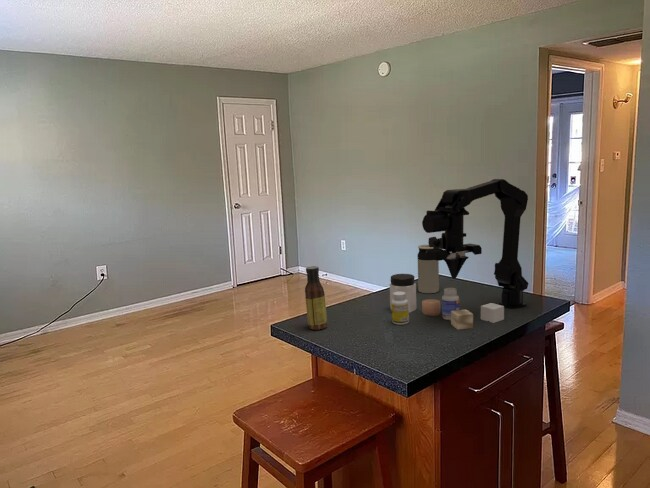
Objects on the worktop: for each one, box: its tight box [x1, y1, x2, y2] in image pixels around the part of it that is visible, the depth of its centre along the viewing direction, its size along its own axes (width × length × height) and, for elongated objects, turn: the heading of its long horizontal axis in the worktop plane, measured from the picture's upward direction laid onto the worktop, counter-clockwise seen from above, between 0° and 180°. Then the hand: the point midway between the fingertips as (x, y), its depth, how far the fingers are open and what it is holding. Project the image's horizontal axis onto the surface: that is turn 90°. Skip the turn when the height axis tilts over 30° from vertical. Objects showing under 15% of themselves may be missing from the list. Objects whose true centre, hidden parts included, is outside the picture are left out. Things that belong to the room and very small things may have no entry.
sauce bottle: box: [304, 265, 328, 331], centre depth 158 cm, size 6×6×20 cm
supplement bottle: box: [391, 292, 410, 326], centre depth 159 cm, size 5×5×10 cm
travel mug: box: [417, 244, 440, 295], centre depth 193 cm, size 8×8×18 cm
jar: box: [389, 273, 417, 314], centre depth 172 cm, size 9×8×12 cm
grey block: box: [480, 302, 505, 324], centre depth 158 cm, size 5×5×4 cm
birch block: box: [450, 309, 474, 330], centre depth 153 cm, size 5×5×4 cm
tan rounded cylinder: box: [421, 298, 441, 317], centre depth 168 cm, size 6×6×4 cm
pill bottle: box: [441, 287, 460, 321], centre depth 161 cm, size 5×5×10 cm
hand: (453, 278), depth 159 cm, fingers closed
